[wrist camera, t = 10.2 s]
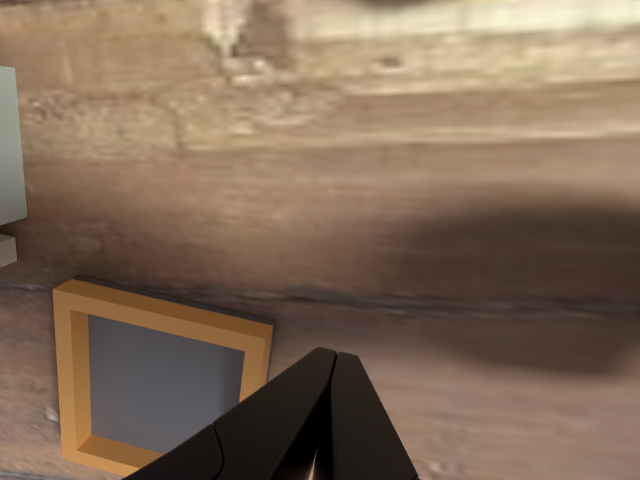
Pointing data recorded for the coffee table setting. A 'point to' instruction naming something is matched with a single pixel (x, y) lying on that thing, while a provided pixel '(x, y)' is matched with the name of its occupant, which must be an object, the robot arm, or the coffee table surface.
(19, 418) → the coffee table surface
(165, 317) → the tray
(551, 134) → the coffee table surface
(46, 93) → the coffee table surface
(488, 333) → the coffee table surface
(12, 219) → the sage block
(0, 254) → the birch channel
